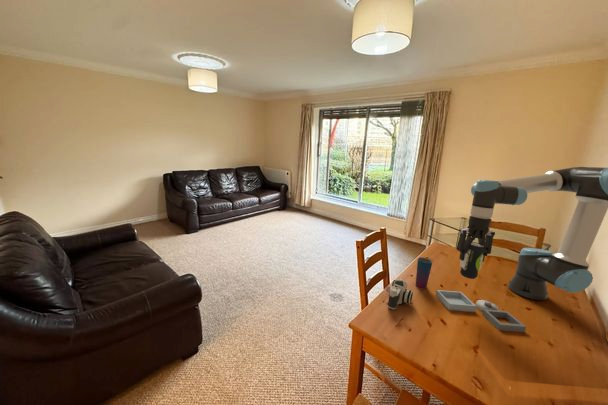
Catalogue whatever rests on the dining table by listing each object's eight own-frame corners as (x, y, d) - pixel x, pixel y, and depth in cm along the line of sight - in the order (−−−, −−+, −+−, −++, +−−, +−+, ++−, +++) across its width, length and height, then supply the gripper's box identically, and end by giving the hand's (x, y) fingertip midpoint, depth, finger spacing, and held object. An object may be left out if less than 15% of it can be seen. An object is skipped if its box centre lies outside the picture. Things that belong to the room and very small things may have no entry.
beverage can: (456, 273, 110) (464, 241, 107) (465, 272, 113) (472, 241, 110) (470, 280, 105) (479, 247, 102) (479, 278, 107) (487, 246, 105)
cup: (429, 291, 123) (434, 263, 121) (415, 289, 125) (419, 261, 122) (425, 285, 130) (430, 258, 127) (412, 282, 131) (416, 256, 129)
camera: (405, 314, 104) (408, 293, 102) (384, 306, 108) (387, 286, 107) (413, 298, 117) (416, 278, 115) (394, 291, 121) (397, 273, 120)
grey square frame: (491, 304, 115) (493, 298, 115) (524, 332, 97) (526, 325, 96) (469, 302, 116) (471, 296, 115) (498, 330, 97) (500, 323, 97)
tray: (459, 297, 120) (460, 291, 119) (475, 312, 108) (476, 306, 108) (435, 295, 120) (436, 289, 120) (448, 310, 109) (449, 303, 108)
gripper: (496, 216, 108) (485, 265, 112) (452, 212, 108) (443, 262, 112) (510, 220, 100) (498, 273, 105) (463, 217, 100) (453, 269, 105)
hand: (469, 267), depth 108 cm, fingers closed on beverage can, 6 cm apart
